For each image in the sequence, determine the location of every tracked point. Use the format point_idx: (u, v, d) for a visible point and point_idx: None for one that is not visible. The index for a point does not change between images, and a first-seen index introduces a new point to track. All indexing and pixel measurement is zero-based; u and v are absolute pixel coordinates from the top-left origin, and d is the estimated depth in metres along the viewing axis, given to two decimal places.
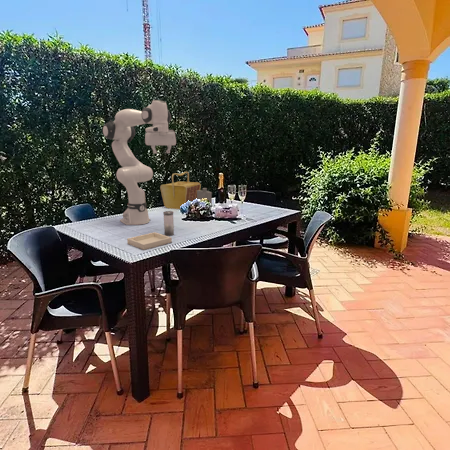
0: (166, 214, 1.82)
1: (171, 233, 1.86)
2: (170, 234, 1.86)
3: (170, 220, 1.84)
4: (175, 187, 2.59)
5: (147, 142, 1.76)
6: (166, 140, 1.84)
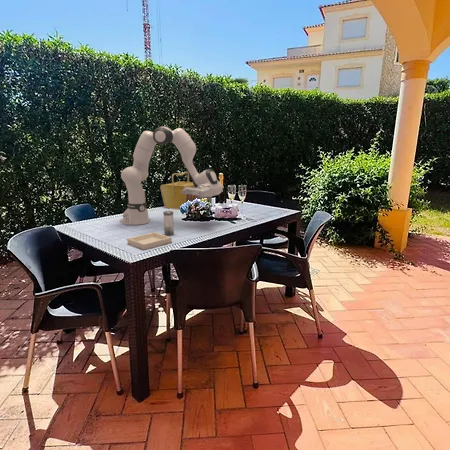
0: (166, 214, 1.82)
1: (171, 233, 1.86)
2: (170, 234, 1.86)
3: (170, 220, 1.84)
4: (175, 187, 2.59)
5: (205, 194, 1.91)
6: None
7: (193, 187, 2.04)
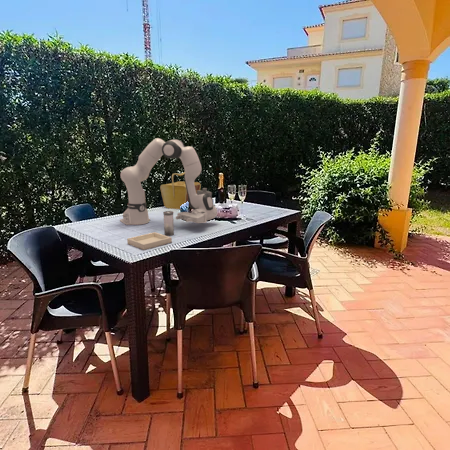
0: (166, 214, 1.82)
1: (171, 233, 1.86)
2: (170, 234, 1.86)
3: (170, 220, 1.84)
4: (175, 187, 2.59)
5: (199, 221, 1.91)
6: None
7: (187, 212, 2.05)
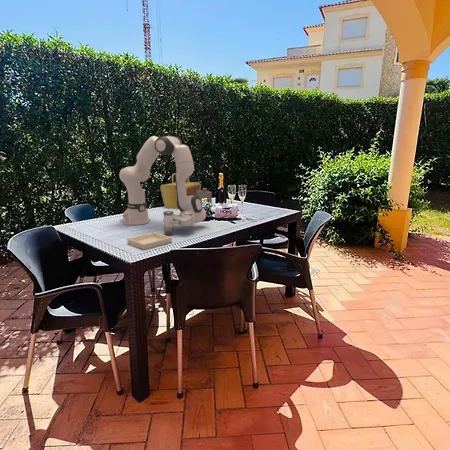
0: (166, 214, 1.82)
1: (171, 233, 1.86)
2: (170, 234, 1.85)
3: (170, 220, 1.84)
4: (175, 187, 2.59)
5: (186, 224, 1.83)
6: None
7: (175, 214, 1.97)
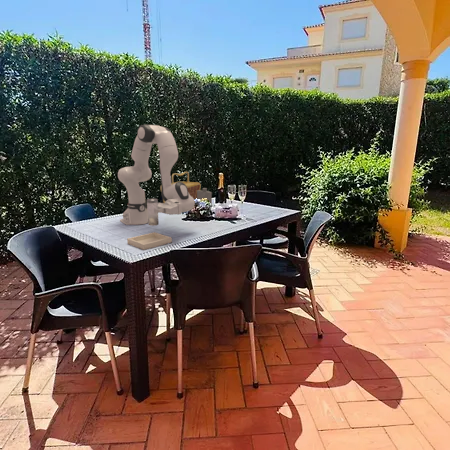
0: (149, 201, 1.66)
1: (155, 222, 1.70)
2: (154, 224, 1.69)
3: (154, 208, 1.67)
4: None
5: (171, 212, 1.67)
6: None
7: (160, 203, 1.81)
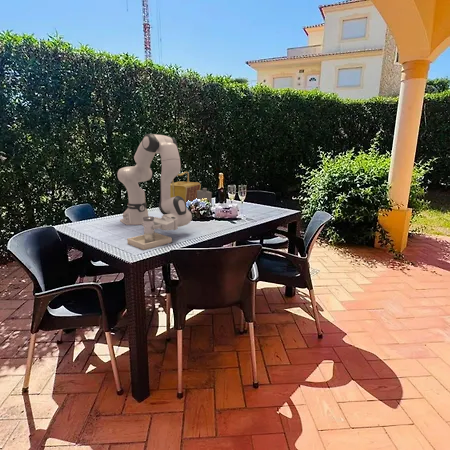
0: (146, 220, 1.65)
1: (152, 241, 1.69)
2: None
3: (150, 226, 1.67)
4: (175, 187, 2.59)
5: (168, 228, 1.66)
6: None
7: (157, 217, 1.80)
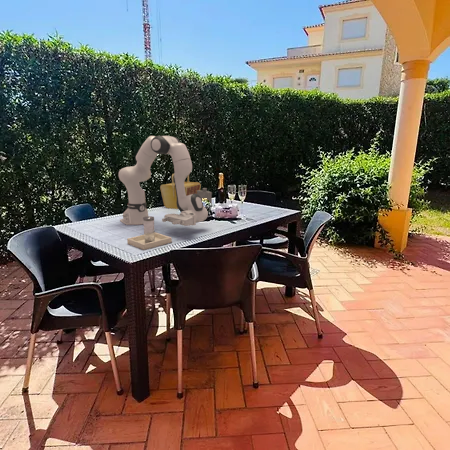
0: (146, 220, 1.65)
1: (152, 240, 1.69)
2: None
3: (150, 226, 1.67)
4: None
5: (187, 223, 1.76)
6: None
7: (175, 214, 1.89)
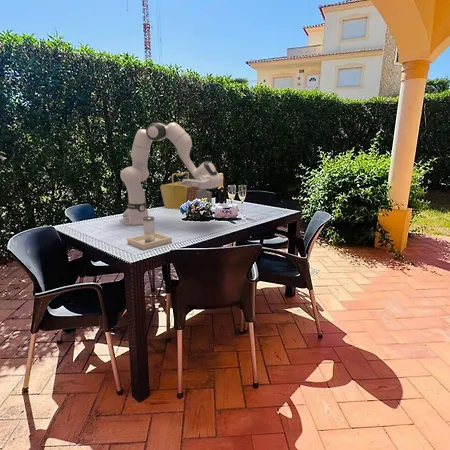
0: (146, 220, 1.65)
1: (152, 241, 1.69)
2: None
3: (150, 226, 1.67)
4: (175, 187, 2.59)
5: (205, 185, 1.84)
6: None
7: (192, 179, 1.97)
